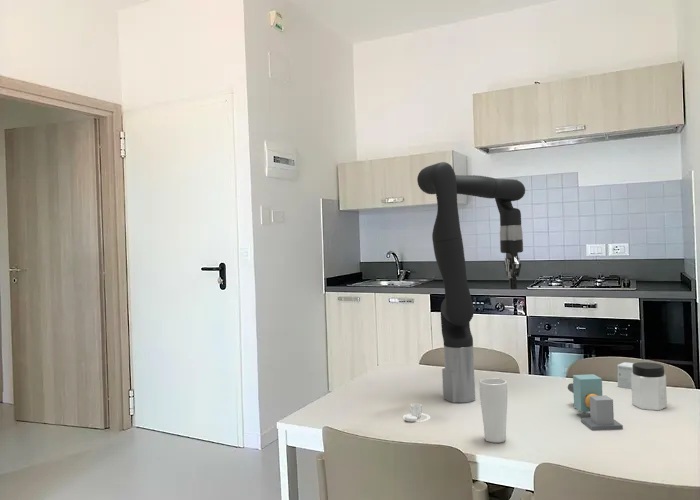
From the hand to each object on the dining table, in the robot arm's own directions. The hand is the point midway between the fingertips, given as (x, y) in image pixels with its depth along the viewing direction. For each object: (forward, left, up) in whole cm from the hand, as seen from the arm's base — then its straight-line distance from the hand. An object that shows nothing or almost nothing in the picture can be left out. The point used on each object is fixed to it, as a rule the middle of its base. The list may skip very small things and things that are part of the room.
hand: (513, 289), depth 191 cm
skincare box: (+30, -20, -33) cm, 49 cm away
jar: (+18, -38, -33) cm, 54 cm away
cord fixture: (-3, -37, -33) cm, 50 cm away
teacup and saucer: (-49, -15, -34) cm, 62 cm away
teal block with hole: (-3, -37, -31) cm, 48 cm away
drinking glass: (-37, -41, -33) cm, 64 cm away
